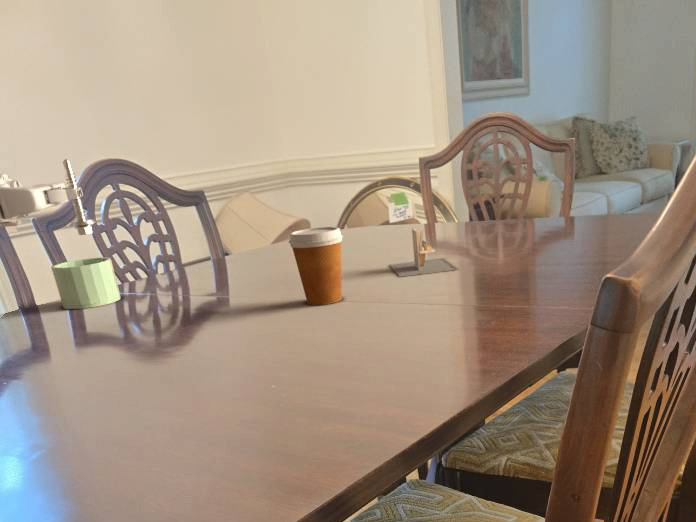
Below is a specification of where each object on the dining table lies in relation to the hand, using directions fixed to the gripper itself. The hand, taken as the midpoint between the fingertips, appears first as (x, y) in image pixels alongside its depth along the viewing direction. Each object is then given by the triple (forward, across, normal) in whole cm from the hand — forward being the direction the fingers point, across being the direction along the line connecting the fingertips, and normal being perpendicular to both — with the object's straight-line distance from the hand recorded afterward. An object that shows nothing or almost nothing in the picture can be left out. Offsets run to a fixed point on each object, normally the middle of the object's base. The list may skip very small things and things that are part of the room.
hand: (79, 192), depth 144 cm
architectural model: (+64, -2, -21) cm, 67 cm away
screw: (-1, 0, -7) cm, 7 cm away
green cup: (-5, -9, -21) cm, 24 cm away
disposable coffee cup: (+42, +20, -21) cm, 51 cm away
